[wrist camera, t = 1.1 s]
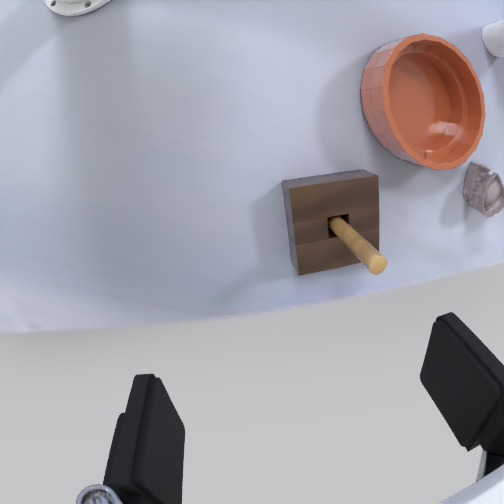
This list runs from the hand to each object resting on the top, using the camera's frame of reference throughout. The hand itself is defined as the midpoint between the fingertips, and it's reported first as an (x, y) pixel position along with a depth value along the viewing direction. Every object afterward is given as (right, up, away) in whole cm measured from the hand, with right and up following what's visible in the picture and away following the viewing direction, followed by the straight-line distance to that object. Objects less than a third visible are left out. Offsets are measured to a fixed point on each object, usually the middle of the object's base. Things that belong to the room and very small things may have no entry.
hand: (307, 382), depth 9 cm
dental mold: (+33, +15, +29) cm, 46 cm away
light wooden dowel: (+8, +9, +29) cm, 31 cm away
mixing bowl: (+19, +24, +23) cm, 39 cm away
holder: (+8, +9, +29) cm, 31 cm away
